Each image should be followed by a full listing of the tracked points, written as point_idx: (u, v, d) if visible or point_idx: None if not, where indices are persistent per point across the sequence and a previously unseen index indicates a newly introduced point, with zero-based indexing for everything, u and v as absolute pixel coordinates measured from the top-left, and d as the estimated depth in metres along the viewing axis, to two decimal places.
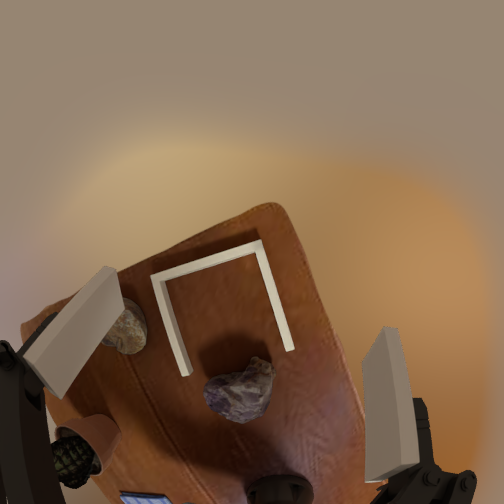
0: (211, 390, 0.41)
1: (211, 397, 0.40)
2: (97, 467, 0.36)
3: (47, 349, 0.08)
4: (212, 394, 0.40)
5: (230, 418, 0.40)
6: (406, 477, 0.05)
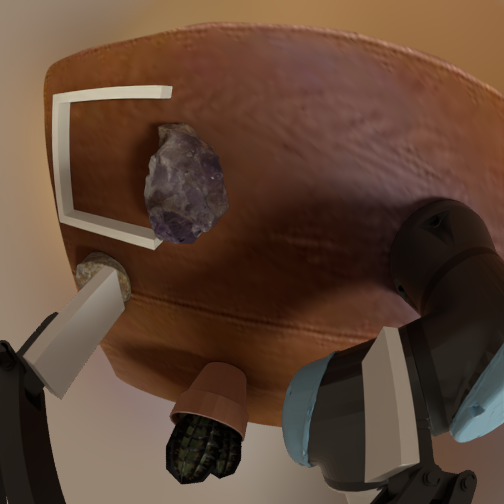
0: (153, 225, 0.28)
1: (162, 231, 0.28)
2: None
3: (47, 349, 0.08)
4: (156, 228, 0.28)
5: (204, 226, 0.27)
6: (406, 477, 0.05)
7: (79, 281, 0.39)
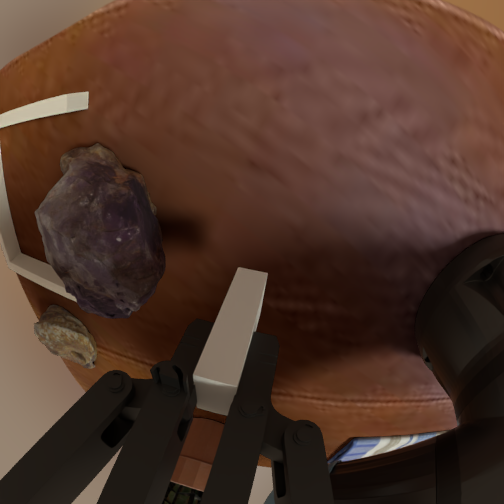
0: (74, 296, 0.18)
1: (85, 305, 0.18)
2: None
3: (222, 360, 0.09)
4: (77, 300, 0.18)
5: (130, 305, 0.16)
6: None
7: (40, 339, 0.29)
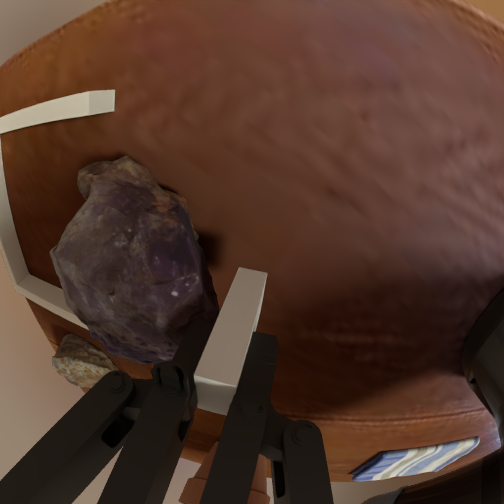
0: None
1: (115, 352, 0.15)
2: None
3: (222, 361, 0.09)
4: (105, 347, 0.15)
5: None
6: None
7: (58, 371, 0.27)
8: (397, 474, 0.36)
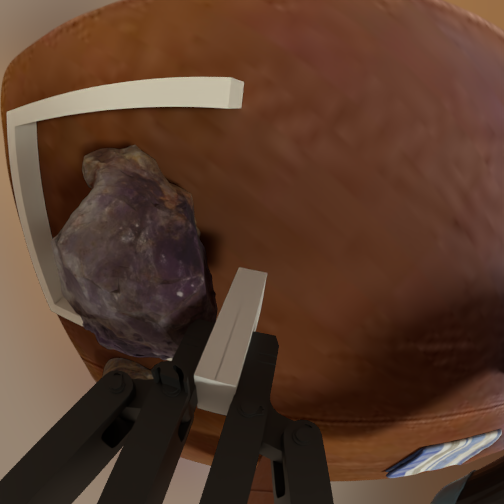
0: None
1: (107, 344, 0.15)
2: None
3: (222, 361, 0.09)
4: (97, 338, 0.15)
5: None
6: None
7: None
8: (426, 469, 0.35)
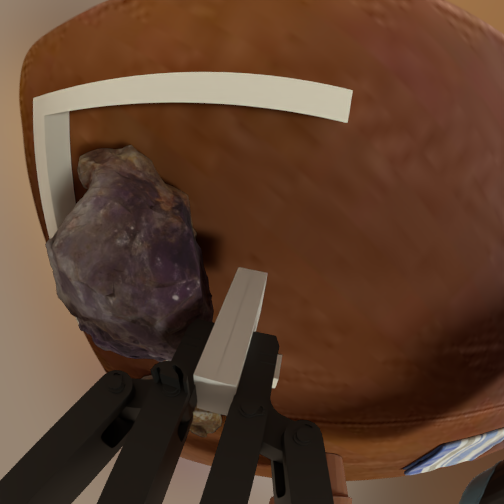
0: None
1: (103, 345, 0.15)
2: None
3: (222, 360, 0.09)
4: (94, 339, 0.14)
5: (170, 358, 0.14)
6: None
7: None
8: (441, 465, 0.35)
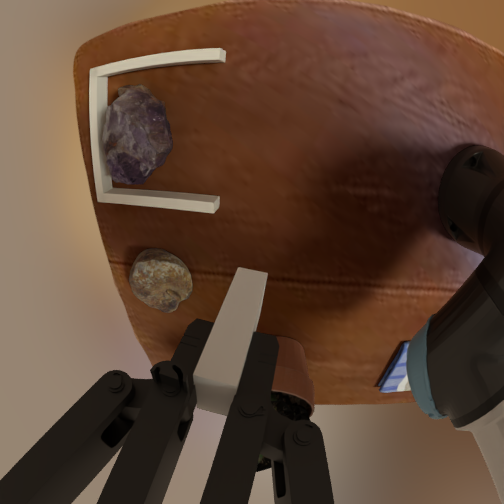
0: (110, 169, 0.30)
1: (117, 173, 0.30)
2: (304, 400, 0.39)
3: (222, 360, 0.09)
4: (112, 170, 0.29)
5: (150, 164, 0.28)
6: None
7: (136, 279, 0.40)
8: None
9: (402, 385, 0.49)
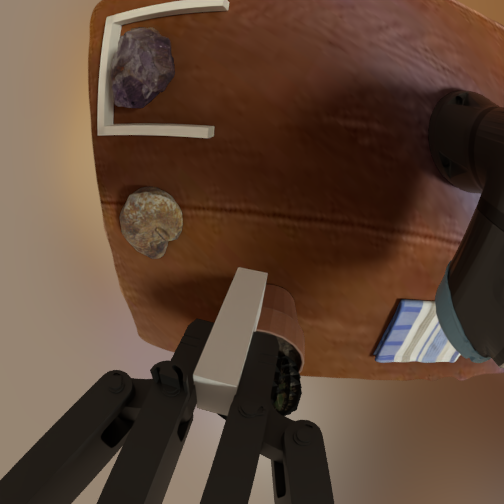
0: (114, 94, 0.28)
1: (120, 96, 0.28)
2: (293, 350, 0.38)
3: (222, 360, 0.09)
4: (116, 94, 0.28)
5: (151, 85, 0.27)
6: None
7: (126, 214, 0.39)
8: (417, 358, 0.48)
9: (399, 355, 0.49)
